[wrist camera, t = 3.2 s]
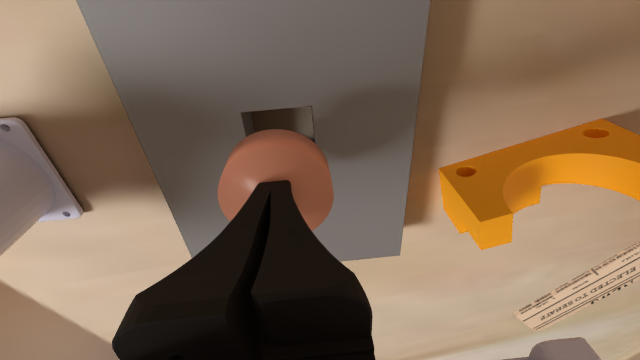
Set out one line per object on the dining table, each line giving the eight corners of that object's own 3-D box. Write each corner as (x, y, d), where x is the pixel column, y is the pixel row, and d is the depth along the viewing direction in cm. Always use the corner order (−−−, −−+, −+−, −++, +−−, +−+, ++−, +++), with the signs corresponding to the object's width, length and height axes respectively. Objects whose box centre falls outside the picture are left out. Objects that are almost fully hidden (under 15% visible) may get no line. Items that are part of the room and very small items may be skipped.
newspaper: (738, 174, 27) (764, 186, 25) (756, 210, 30) (780, 222, 28) (509, 307, 36) (519, 321, 35) (539, 324, 39) (548, 338, 38)
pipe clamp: (442, 207, 26) (481, 266, 20) (437, 167, 23) (480, 222, 18) (589, 165, 24) (672, 216, 19) (599, 117, 22) (698, 161, 17)
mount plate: (209, 247, 26) (200, 275, 24) (78, -85, 14) (31, -99, 11) (389, 229, 27) (399, 255, 24) (419, -111, 14) (445, -130, 12)
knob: (245, 189, 18) (232, 245, 14) (225, 111, 15) (202, 154, 12) (327, 181, 18) (335, 234, 15) (322, 102, 16) (330, 142, 12)
